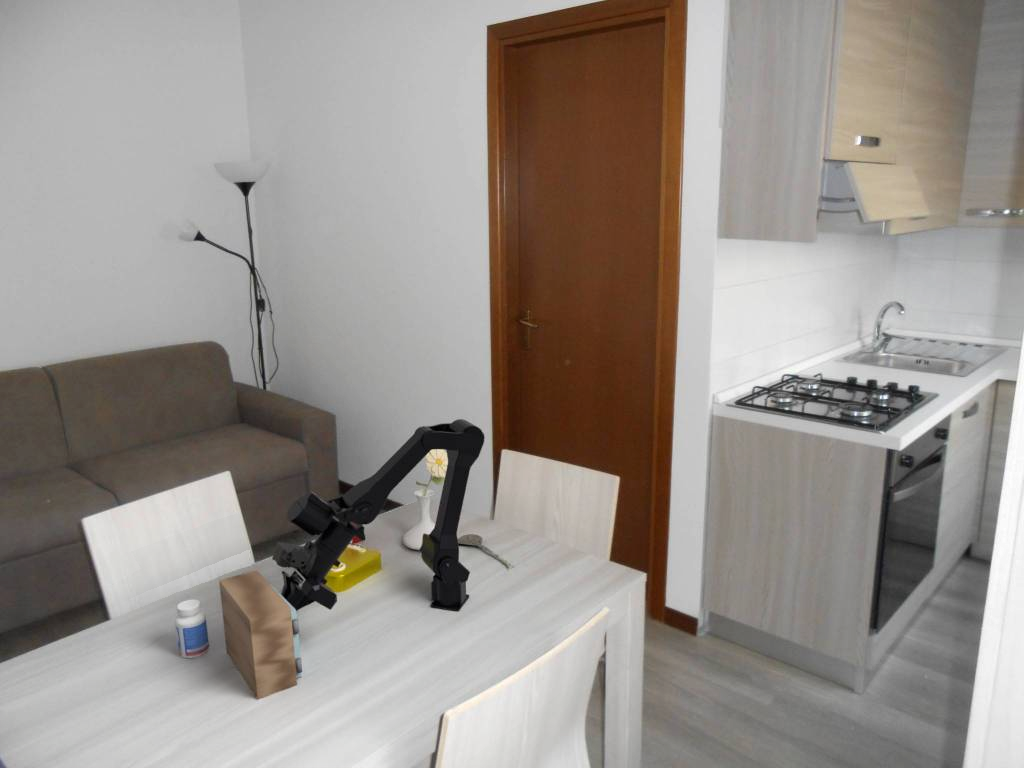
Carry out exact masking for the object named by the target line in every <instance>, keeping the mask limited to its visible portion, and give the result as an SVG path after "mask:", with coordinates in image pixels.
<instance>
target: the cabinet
mask: <svg viewBox="0 0 1024 768" xmlns="http://www.w3.org/2000/svg"><path fill="white" fill-rule="evenodd" d="M267 581H268V580H266V578H265V577H264V576H263V575H262V574H261V573H260V572H259V571H258V570H257V569H254V570H251V571H247V572H244V573H241V574H238V575H234V576H230V577H226V578H223V579H218V582H219V583H218V584H219V594H220V600H221V601H220V603H221V613H222V620H223V621H222V622H223V630H224V638H225V639H224V640H225V648H226V654H227V655H228V657H229V658H230V660H231V661H232V662H231V663H233V665H234V666H235V668H236V669H237V671H238V672H239V674H240V675H241V677H242V678H243V680H244V681H245V683H246V684H247V686H248V687H249V688H250V691H252V694H253V695H254V696H255V698H256V699H257V700H260V699H263V698H267V697H268V696H271V695H274V694H276V693H277V694H278V693H279V692H283V691H285V690H288V689H291V688H293V687H296V686H298V680H297V679H298V678H297V677H296V665H295V653H294V641H293V629H292V617H291V607H290V606H289V605H288V604H287V603H286V602H285V601H284V600H283V599H282V597H281V596H280V595H279V594H278V593H277V592H276V591H275V590H274V589H273V588H272V586H273V585H272V584H271V583H270V582H269V581H268V582H269V583H270V584H271V585H272V586H271V585H270V584H269V583H268V582H267Z"/></svg>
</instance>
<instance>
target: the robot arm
mask: <svg viewBox="0 0 1024 768" xmlns="http://www.w3.org/2000/svg"><path fill="white" fill-rule="evenodd" d="M484 443H485V433H484V432H483V431H482V429H481V428H480V427H478V426H477V425H475V424H473V423H472V422H469V421H468V420H466V419H463V418H461V419H459V418H458V419H455V420H453V421H452V422H448V423H438V424H434V425H427V426H426V425H425V426H424V425H423V426H419V427H418V428H416V429H415V431H414V433H413V434H412V436H411V437H409V439H408V440H406V442H405V443H404V444H403V445H401V447H399V449H398V450H396V452H394V454H392V456H391V457H390V458H388V459H387V461H386V462H385V463H384V464H383V465H382V466H381V467H380V468H379V469H378V470H377V471H376V472H375V473H374V474H373V475H371V476H370V477H368V478H366V479H363V480H361V481H359V482H358V483H356V484H355V485H354V486H352V487H351V488H349V490H347V491H346V492H345V493H344V494H343V495H340V496H338V497H334V498H332V499H328V500H326V501H325V500H324V499H322V498H320V497H319V496H318V495H317V494H316V493H314V491H312V490H308V492H307V493H306V494H304V495H302V496H300V497H298V498H297V499H296V500H294V501H293V502H292V504H291V505H290V507H289V508H288V510H287V512H286V513H287V514H286V516H285V517H286V518H285V519H286V521H288V522H289V523H290V524H292V525H294V526H295V527H297V528H298V529H300V530H301V531H303V532H305V533H306V534H308V535H309V536H313V537H314V536H316V535H317V537H316V538H315V540H314V541H312V540H309V541H307V542H306V543H305V544H304V545H303V546H301V545H298V544H293V543H287V542H281V541H278V542H277V543H276V545H275V549H274V552H273V554H272V557H271V558H272V560H273V561H275V562H276V565H277V566H278V567H280V568H287V569H286V571H284V570H281V575H282V579H283V587H282V589H281V593H280V594H281V595H282V596H283V597H284V598H285V599H286V600H287V601H288V602H289V603H290V604H291V605H292V606H293V607H294V608H295V609H296V612H297V611H299V610H301V609H303V608H305V607H306V606H309V605H311V604H314V603H315V602H316V603H318V604H319V605H321V606H323V607H324V608H327V609H328V610H330V611H331V610H332V609H333V608H334V606H335V605H336V604H337V602H338V594H336V592H333V591H332V589H331V588H329V587H328V586H326V585H325V584H326V583H327V580H326V579H325V577H326V575H327V574H328V572H329V571H330V570H331V568H332V567H333V566H334V565H335V566H336V567H338V566H339V565H340V563H341V562H339V561H338V559H339V557H340V556H341V554H342V553H343V552H344V550H345V549H346V548H347V546H348V545H349V543H350V542H351V541H352V539H353V538H354V537H355V536H356V537H358V538H359V539H361V540H362V541H363V542H364V541H366V535H365V526H364V525H369V524H371V523H372V522H374V521H375V519H376V518H377V517H378V515H379V514H380V512H381V511H382V510H383V509H384V507H385V505H386V503H387V501H388V498H389V495H390V494H391V493H392V491H393V490H394V489H395V488H396V487H397V486H398V485H399V484H400V483H401V482H402V481H403V480H404V479H405V478H406V477H407V476H408V474H409V473H410V472H412V471H413V469H414V468H415V467H417V465H419V463H420V462H421V461H422V460H423V459H424V458H426V455H427V454H428V453H429V452H430V451H431V450H433V449H443V450H445V452H447V458H448V465H447V470H446V475H445V480H444V482H443V486H442V490H441V495H440V499H439V505H438V510H437V514H436V520H435V527H434V529H433V530H432V532H431V533H430V534H425V533H424V534H423V537H422V545H421V548H420V549H419V550H418V551H419V552H420V554H421V559H422V561H423V563H424V564H425V565H426V566H427V567H428V568H429V569H430V570H431V572H433V573H434V575H433V576H432V581H431V583H430V588H431V589H430V590H431V600H432V602H431V603H430V607H431V608H435V609H440V610H441V609H442V610H449V611H456V612H459V611H461V609H462V608H463V606H464V605H465V604H466V603H467V601H469V599H470V594H467V581H469V576H470V573H471V571H470V570H469V569H468V568H466V566H464V565H463V563H461V561H459V559H460V546H459V543H458V529H459V523H460V519H461V513H462V510H463V505H464V501H465V495H466V490H467V485H468V480H469V476H470V471H471V468H472V466H473V465H474V463H475V462H476V461H477V460H478V459H479V457H480V455H481V452H482V448H483V446H484ZM343 510H344V511H343ZM351 522H354V523H356V524H357V525H354V524H353V523H351ZM362 525H363V526H362Z"/></svg>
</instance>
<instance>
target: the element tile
mask: <svg viewBox="0 0 1024 768" xmlns="http://www.w3.org/2000/svg"><path fill="white" fill-rule="evenodd" d="M338 561H339V562H341V563H340V565H339V566H338V567H336V566H335V565H334V566H333V567H332V568H331V570H330V571H329V572H328V574H327V575H326V577H325V579H326V580H327V583H326V584H325V585H326V586H328V587H329V588H331V589H332V591H333V592H334V593H342V592H346V591H347V590H349V589H351V588H353V587H355V586H357V585H358V584H360V583H362V582H364V581H365V580H367V579H368V578H370V577H371V576H374V575H376V574H377V573H379V572H381V570H382V553H381V552H380V551H378V550H375V549H372V548H368V547H365V546H362V545H360V544H359V545H356V544H352V543H349V545H348V546H347V548H346V549H345V550H344V552H343V553H342V554H341V556H340V557H339V559H338Z"/></svg>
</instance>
